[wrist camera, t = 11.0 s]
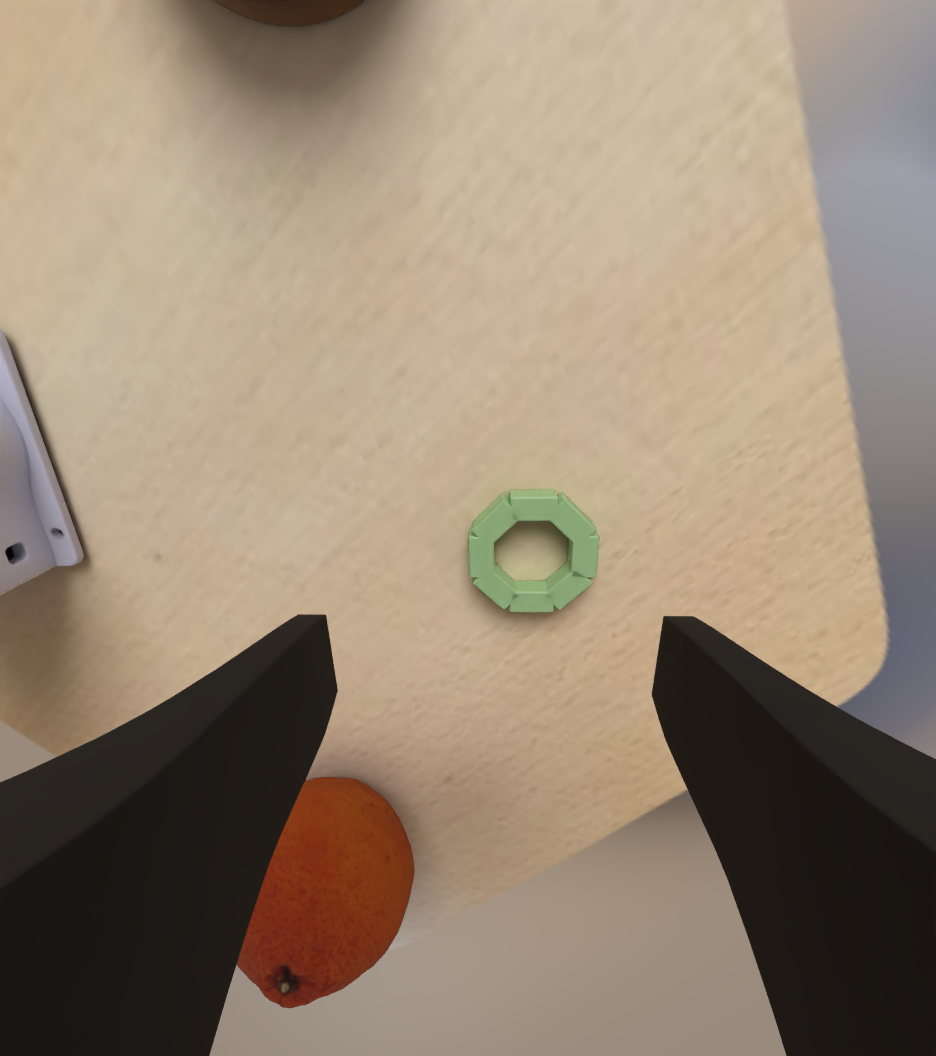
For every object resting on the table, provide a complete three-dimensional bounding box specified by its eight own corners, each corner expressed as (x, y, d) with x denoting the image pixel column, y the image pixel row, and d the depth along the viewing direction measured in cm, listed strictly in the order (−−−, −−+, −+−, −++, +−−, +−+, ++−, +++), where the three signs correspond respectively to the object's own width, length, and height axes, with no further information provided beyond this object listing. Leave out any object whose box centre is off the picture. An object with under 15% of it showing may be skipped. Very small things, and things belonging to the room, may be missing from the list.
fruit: (347, 714, 23) (279, 891, 16) (452, 823, 26) (436, 1020, 18) (222, 783, 26) (110, 967, 18) (330, 877, 28) (271, 1073, 21)
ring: (588, 600, 20) (593, 613, 19) (471, 600, 21) (470, 613, 20) (597, 488, 18) (603, 496, 18) (468, 489, 19) (467, 497, 18)
